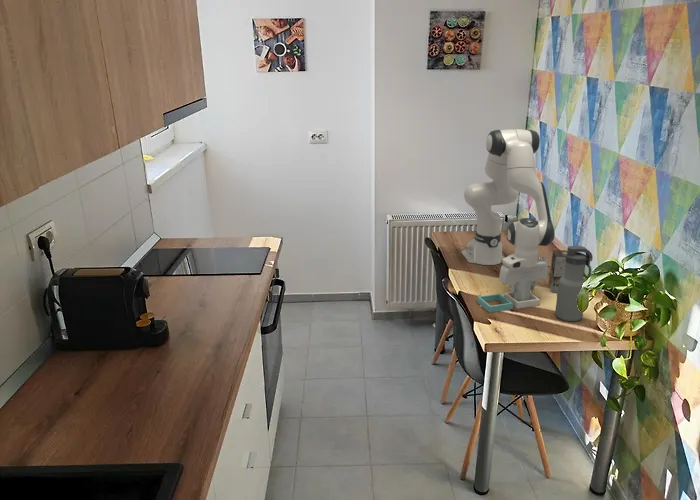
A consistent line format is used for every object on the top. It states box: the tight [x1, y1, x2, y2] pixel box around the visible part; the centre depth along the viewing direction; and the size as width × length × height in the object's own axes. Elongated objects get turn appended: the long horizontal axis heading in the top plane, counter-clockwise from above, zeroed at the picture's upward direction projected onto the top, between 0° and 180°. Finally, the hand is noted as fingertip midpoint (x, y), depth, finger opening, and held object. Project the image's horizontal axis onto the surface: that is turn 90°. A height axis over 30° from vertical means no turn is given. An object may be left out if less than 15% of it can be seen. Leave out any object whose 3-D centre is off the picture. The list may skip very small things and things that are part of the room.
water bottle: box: [554, 245, 593, 322], centre depth 202 cm, size 10×10×28 cm
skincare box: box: [514, 276, 532, 302], centre depth 217 cm, size 6×4×12 cm
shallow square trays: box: [476, 291, 541, 313], centre depth 218 cm, size 10×22×2 cm, turn 105°
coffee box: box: [548, 249, 568, 293], centre depth 228 cm, size 9×6×16 cm
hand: (522, 291), depth 218 cm, fingers closed on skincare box, 7 cm apart
